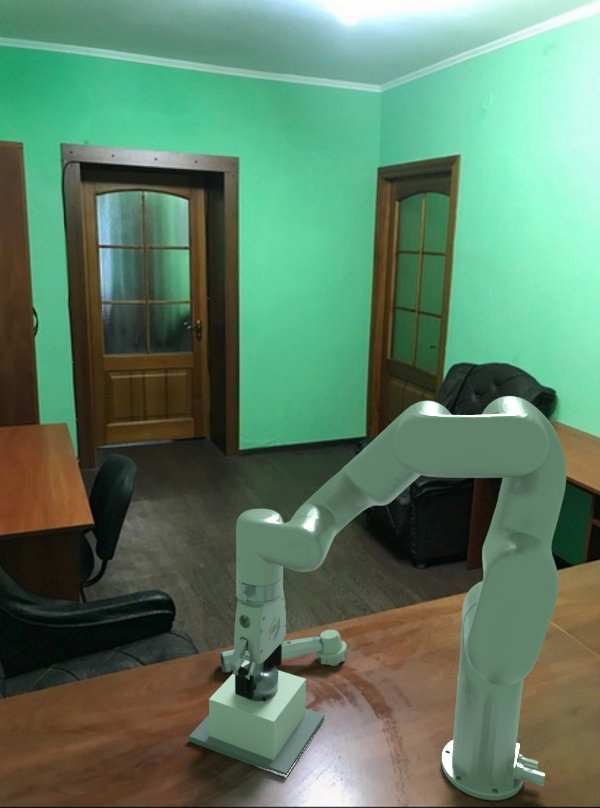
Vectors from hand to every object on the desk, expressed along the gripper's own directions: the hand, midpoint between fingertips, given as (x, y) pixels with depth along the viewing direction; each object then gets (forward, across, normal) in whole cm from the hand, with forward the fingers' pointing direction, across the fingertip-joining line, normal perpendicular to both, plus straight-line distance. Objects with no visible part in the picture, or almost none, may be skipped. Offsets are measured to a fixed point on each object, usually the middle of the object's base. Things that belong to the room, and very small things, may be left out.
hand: (259, 679), depth 110 cm
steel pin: (+8, 0, 0) cm, 8 cm away
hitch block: (+10, 0, 0) cm, 10 cm away
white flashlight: (+10, +19, +5) cm, 22 cm away
